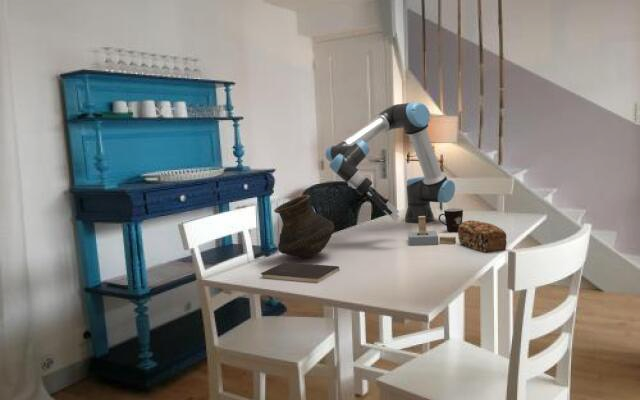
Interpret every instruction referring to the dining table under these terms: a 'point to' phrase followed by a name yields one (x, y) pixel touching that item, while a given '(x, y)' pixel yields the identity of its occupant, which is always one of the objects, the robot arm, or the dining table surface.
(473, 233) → the bread
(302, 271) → the hardcover book
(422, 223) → the long oak peg
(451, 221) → the coffee mug
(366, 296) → the dining table surface
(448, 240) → the short oak peg
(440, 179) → the robot arm
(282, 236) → the ceramic pot
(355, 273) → the dining table surface
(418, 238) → the socket block
